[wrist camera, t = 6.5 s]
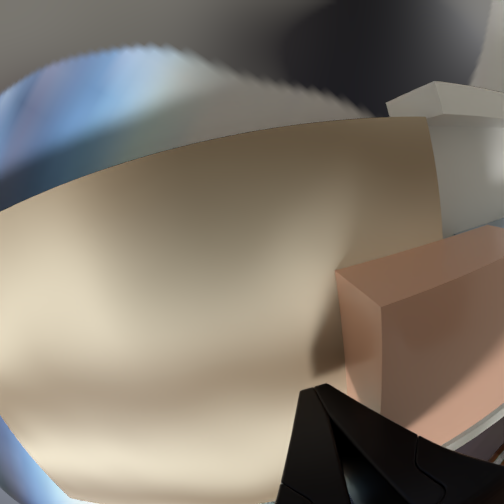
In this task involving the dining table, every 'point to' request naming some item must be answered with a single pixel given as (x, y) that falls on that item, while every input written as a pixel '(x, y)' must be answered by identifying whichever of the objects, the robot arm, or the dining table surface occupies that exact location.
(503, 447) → the food container
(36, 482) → the dining table surface
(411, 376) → the terracotta tile
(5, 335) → the birch plate
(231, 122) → the dining table surface
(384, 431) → the robot arm
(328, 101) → the dining table surface
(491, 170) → the box
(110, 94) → the dining table surface
